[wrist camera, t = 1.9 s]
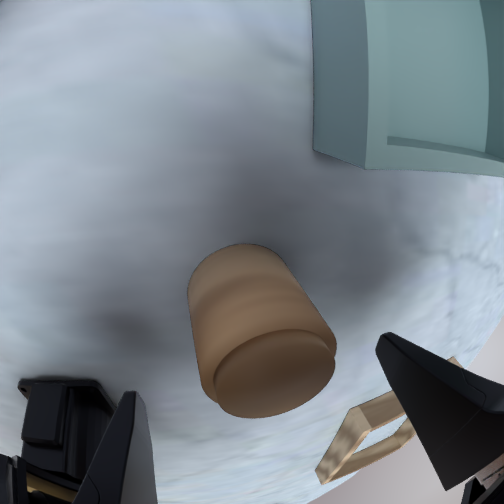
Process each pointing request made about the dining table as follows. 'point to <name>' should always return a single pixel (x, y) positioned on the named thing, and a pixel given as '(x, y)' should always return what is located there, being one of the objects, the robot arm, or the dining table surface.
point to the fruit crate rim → (357, 428)
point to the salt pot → (257, 333)
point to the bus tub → (410, 84)
